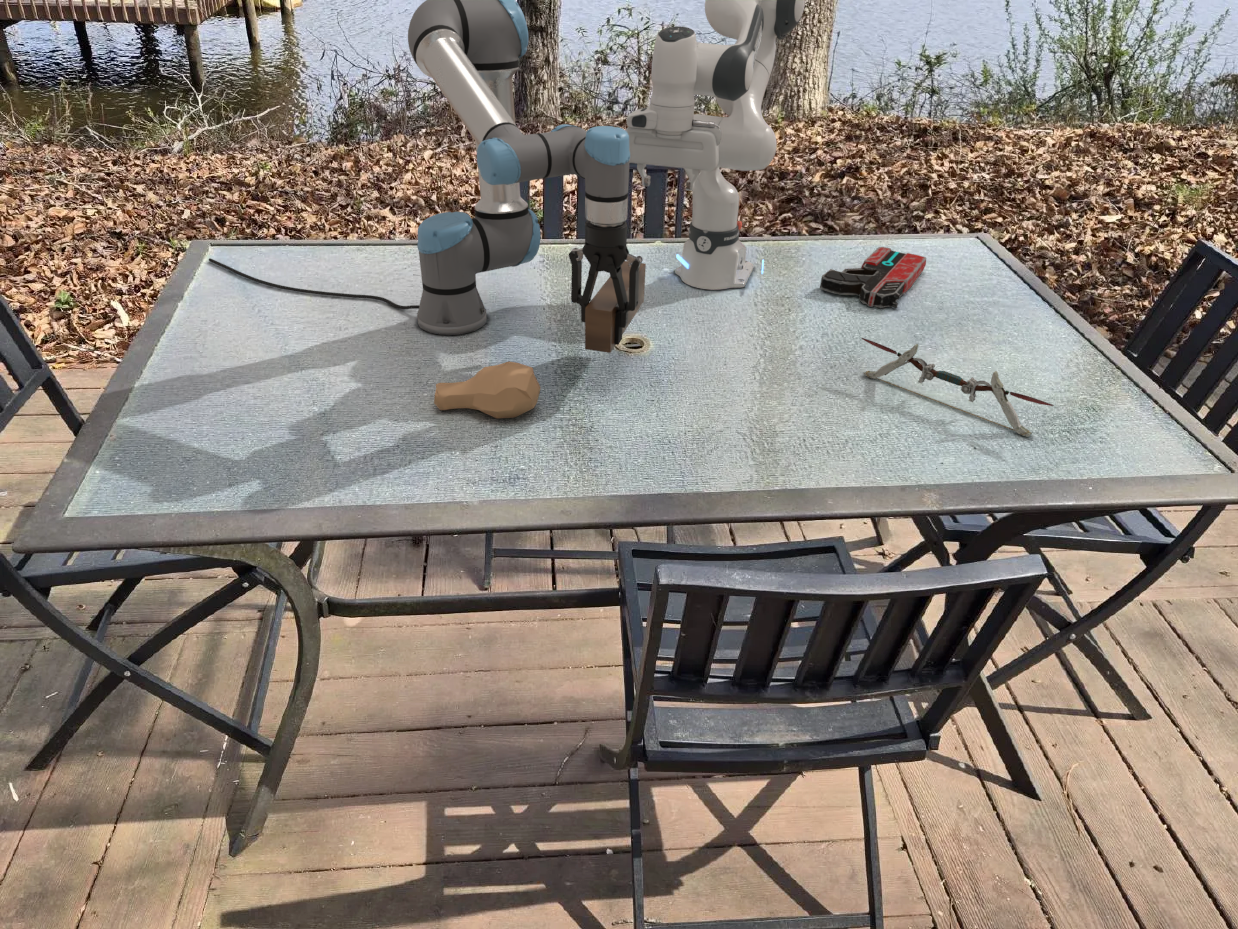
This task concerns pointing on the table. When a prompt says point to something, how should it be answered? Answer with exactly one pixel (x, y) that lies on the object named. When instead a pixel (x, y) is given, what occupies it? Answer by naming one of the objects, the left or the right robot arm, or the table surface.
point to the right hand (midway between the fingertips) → (667, 187)
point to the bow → (966, 388)
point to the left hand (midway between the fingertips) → (604, 339)
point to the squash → (493, 391)
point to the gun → (877, 277)
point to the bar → (609, 312)
